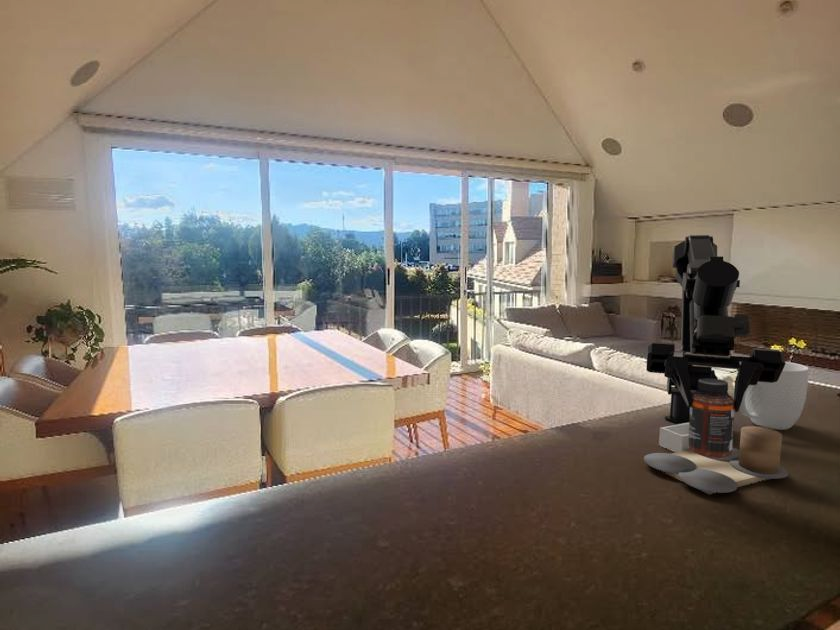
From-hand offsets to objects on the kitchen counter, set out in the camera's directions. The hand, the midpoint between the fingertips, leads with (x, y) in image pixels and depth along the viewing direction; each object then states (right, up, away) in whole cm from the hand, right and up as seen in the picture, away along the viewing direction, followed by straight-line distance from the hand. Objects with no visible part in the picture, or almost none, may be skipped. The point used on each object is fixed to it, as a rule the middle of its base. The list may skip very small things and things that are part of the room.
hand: (712, 408), depth 76 cm
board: (+5, -12, +9) cm, 16 cm away
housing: (+6, -11, +19) cm, 22 cm away
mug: (+29, -10, +31) cm, 44 cm away
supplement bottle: (+1, -7, +2) cm, 8 cm away
